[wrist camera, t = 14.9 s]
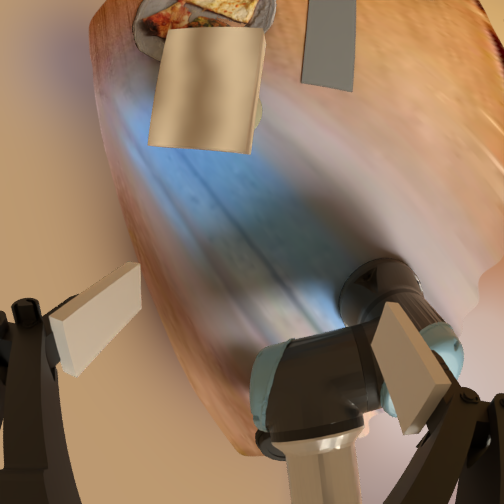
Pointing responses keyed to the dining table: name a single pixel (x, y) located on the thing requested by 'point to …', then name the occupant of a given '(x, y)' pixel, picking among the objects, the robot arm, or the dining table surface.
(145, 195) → the dining table surface
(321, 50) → the mat
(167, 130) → the beige wavy block
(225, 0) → the food plate
